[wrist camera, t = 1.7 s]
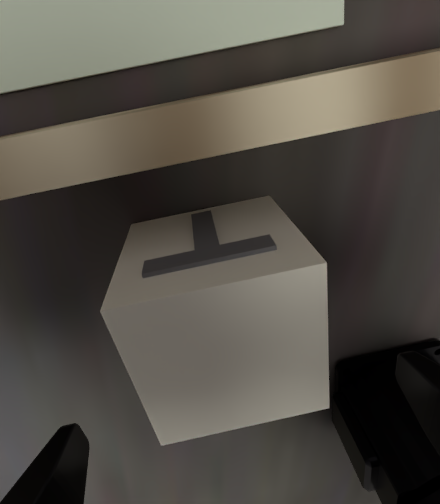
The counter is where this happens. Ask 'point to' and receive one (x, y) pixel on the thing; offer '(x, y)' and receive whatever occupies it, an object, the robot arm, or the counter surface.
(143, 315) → the letter cube
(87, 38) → the sage mat
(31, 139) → the birch screen
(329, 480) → the counter surface
